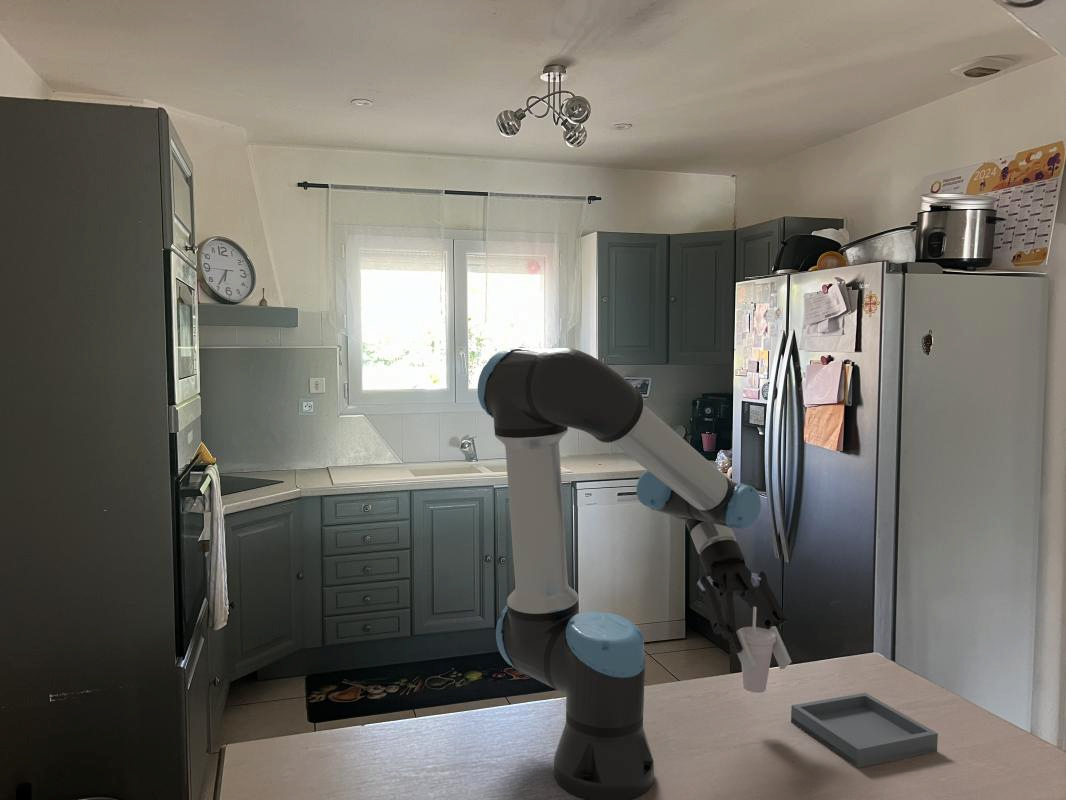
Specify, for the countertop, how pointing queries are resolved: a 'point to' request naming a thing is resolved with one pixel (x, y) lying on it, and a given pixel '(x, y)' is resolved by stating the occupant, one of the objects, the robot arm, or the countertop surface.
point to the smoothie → (758, 655)
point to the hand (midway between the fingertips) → (768, 667)
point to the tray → (863, 729)
